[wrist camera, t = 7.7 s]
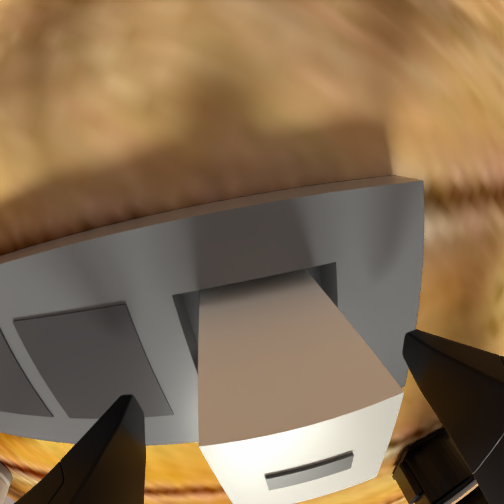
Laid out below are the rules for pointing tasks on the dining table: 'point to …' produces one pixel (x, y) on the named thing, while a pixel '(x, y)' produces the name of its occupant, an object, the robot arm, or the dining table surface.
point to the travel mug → (4, 482)
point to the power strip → (193, 298)
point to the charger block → (288, 392)
